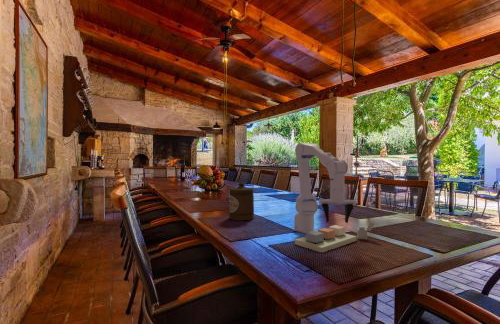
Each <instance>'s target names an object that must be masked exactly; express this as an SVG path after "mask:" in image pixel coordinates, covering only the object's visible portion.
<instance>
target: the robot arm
mask: <svg viewBox="0 0 500 324" xmlns="http://www.w3.org/2000/svg"><path fill="white" fill-rule="evenodd" d="M294 151H295V160H296V161H297V168H298V177H299V179H298V180H299V190H300V193H299V195H298V196H297V197H296V198H295V210H296V213H295V215H294V217H293V218H294V221H293V223H294V224H293V225H294V226H293V229H292V230H293V231H295V232H298V233H302V234H305V235H306V233H307V232H311V231H317V232H318V229H315V215H316V212H318V209H319V205H321V206H322V210H323V212H324V215H325V220H326V223H329V222H330V219H329V218H330V216H329V214H330V213H329V211H330V206H331V205H333V206H334V205H335V206H339V205H340V206H344V211H345V213H344V222H345V224H348V223H349V218H350V216H351V213H352V211H353V209H354V206H357V205H356V204H357V202H356V201H357V200H355V199H345V185H346V184H345V182H346V181H345V177H346V176H345V175H346V174H348V173H347V172H348V169H349V168H348V167H349V166H348V163H347V162H346V161H345V160H339V158H338V157H335V155H334V156H333V155H332V153H331V152H325V151H323V149H321V148H320V146H319V144H317V143H316V142H298V143H297V144H296V146H295V150H294ZM315 157H316V158H318V159H319V162H320V164H322V166H324V167H325V168H326V169H327V173H328V178H329V181H330V182H329V198H326V199H323V198H321V199H318V202H317V198H316V196H315V195H313V194H312V187H311V177H310V167H309V162H310V161H312V160H313V159H314V158H315ZM318 204H319V205H318ZM329 205H330V206H329Z"/></svg>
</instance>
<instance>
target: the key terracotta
mask: <svg viewBox="0 0 500 324" xmlns="http://www.w3.org/2000/svg"><path fill="white" fill-rule="evenodd" d="M317 232H321V233H323V238H326V239H329V238H333V237H335V230H332V229H329V227H323V228H319V229H317Z"/></svg>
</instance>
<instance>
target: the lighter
mask: <svg viewBox="0 0 500 324" xmlns="http://www.w3.org/2000/svg"><path fill="white" fill-rule="evenodd" d="M374 225H375V222H373V221H370V223H369V224H368V226H367V228H365V226H359V227H358V228H356V236H357V239H356V240H368V231H369V232H371V230H372V229H373V227H374Z"/></svg>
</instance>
